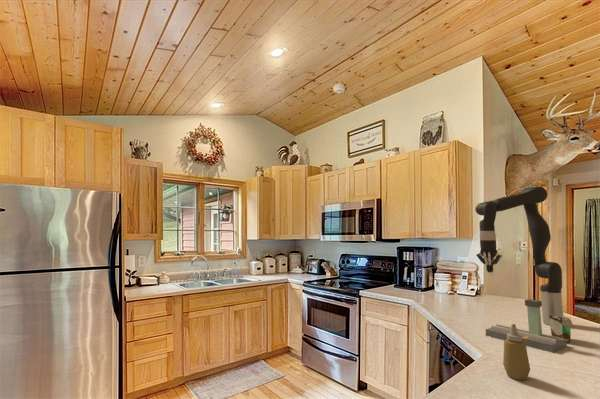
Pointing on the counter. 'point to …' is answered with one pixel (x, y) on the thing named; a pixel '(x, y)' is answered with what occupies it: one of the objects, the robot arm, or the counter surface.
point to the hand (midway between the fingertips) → (490, 272)
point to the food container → (560, 327)
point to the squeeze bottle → (515, 356)
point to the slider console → (529, 338)
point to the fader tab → (534, 316)
